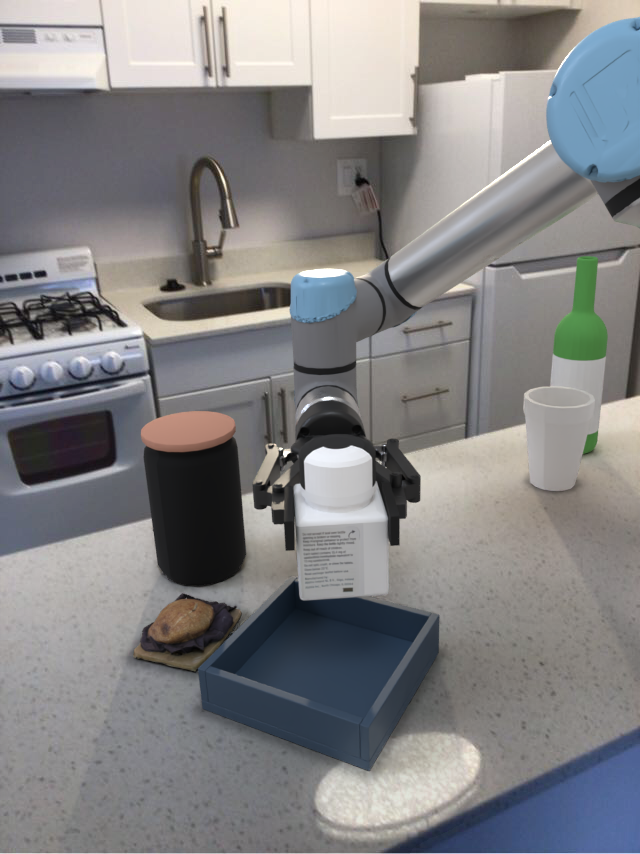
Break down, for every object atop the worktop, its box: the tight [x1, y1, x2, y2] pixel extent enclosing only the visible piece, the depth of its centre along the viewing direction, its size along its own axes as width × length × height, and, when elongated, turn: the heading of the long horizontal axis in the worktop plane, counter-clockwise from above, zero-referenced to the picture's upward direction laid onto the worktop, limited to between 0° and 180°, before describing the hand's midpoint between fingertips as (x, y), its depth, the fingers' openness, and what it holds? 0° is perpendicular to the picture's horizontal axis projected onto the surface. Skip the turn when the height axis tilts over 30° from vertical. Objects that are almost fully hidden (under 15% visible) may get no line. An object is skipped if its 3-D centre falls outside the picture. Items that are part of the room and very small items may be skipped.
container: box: [293, 434, 390, 601], centre depth 66 cm, size 8×8×13 cm
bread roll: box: [132, 593, 242, 672], centre depth 78 cm, size 11×8×4 cm
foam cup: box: [522, 385, 595, 492], centre depth 107 cm, size 10×9×13 cm
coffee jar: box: [140, 410, 247, 587], centre depth 88 cm, size 11×11×18 cm
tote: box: [197, 575, 441, 772], centre depth 71 cm, size 17×17×4 cm
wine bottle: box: [549, 255, 609, 455], centre depth 116 cm, size 8×8×30 cm
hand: (342, 533), depth 62 cm, fingers closed on container, 8 cm apart
